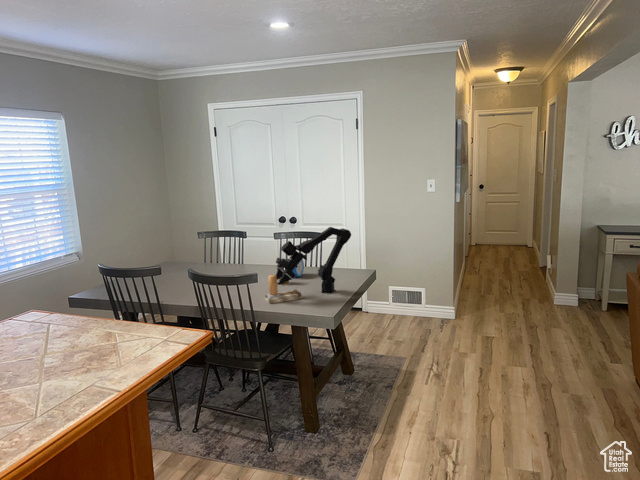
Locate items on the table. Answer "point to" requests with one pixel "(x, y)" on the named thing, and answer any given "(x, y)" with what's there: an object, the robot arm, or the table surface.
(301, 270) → the alarm clock
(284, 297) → the track
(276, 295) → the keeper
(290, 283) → the condiment
